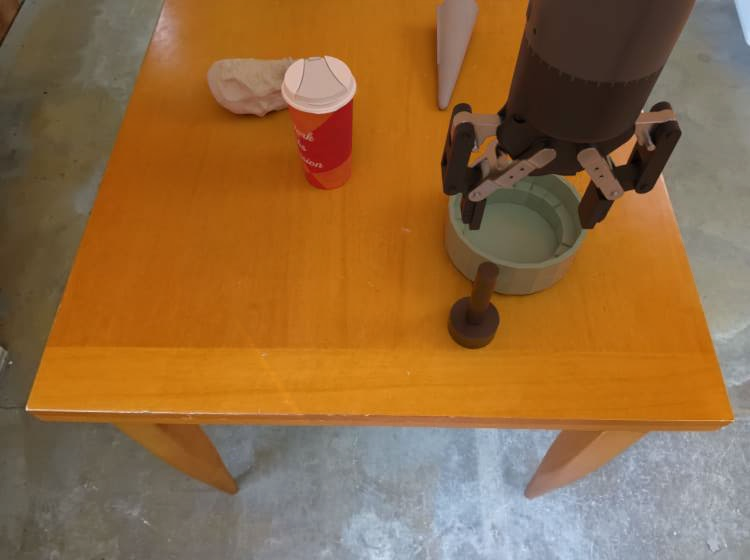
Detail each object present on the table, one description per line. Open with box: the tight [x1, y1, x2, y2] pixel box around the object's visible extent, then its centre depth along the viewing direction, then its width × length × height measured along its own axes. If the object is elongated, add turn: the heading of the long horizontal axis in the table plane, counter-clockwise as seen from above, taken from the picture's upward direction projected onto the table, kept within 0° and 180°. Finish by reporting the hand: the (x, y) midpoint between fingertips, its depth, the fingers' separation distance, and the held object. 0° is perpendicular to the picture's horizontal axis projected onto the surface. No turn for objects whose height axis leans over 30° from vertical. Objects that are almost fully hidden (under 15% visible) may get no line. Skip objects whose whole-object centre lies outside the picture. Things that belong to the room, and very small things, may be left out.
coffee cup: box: [281, 55, 357, 191], centre depth 68 cm, size 8×8×15 cm
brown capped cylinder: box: [447, 262, 500, 350], centre depth 57 cm, size 5×5×11 cm
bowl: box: [443, 159, 588, 295], centre depth 65 cm, size 15×15×6 cm
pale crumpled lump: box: [206, 56, 309, 118], centre depth 78 cm, size 15×7×15 cm
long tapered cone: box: [436, 0, 480, 111], centre depth 83 cm, size 6×6×19 cm
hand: (528, 220), depth 43 cm, fingers open, 8 cm apart
